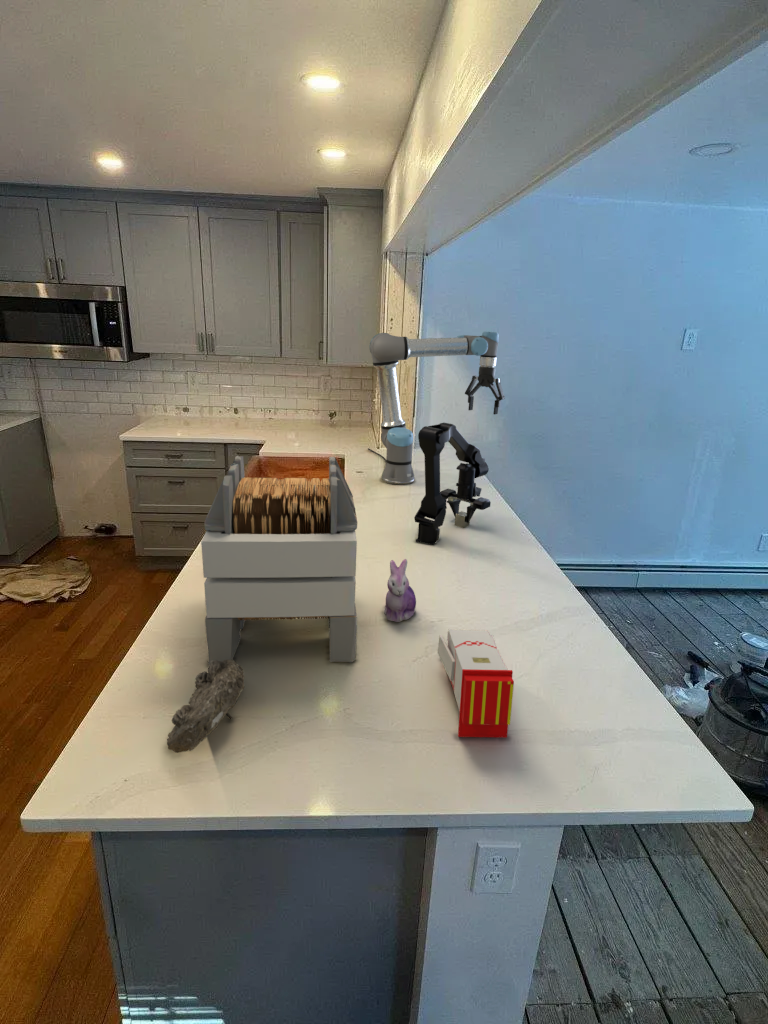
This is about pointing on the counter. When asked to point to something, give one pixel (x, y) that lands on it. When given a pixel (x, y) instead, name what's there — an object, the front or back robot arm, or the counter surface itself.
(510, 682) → the toy
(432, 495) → the front robot arm
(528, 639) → the counter surface
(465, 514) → the block
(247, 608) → the record storage crate
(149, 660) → the counter surface
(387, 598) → the figurine
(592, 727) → the counter surface
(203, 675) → the fossil
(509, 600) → the counter surface
